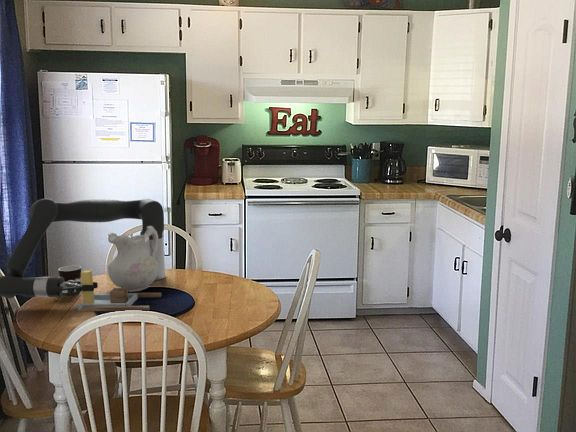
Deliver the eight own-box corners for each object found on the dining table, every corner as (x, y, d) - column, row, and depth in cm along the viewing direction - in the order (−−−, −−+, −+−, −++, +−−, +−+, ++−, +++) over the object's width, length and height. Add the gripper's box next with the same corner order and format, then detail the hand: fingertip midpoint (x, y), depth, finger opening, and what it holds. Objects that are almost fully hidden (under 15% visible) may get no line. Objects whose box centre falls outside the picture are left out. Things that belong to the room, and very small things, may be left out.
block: (115, 301, 247) (114, 287, 246) (128, 300, 247) (127, 287, 246) (110, 305, 242) (109, 291, 241) (124, 305, 242) (123, 291, 241)
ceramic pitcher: (139, 283, 279) (131, 224, 276) (175, 284, 269) (167, 223, 266) (101, 297, 261) (92, 234, 257) (138, 299, 251) (129, 234, 247)
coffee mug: (76, 296, 259) (74, 271, 257) (56, 295, 260) (53, 270, 259) (91, 288, 270) (89, 263, 268) (71, 287, 272) (69, 263, 270)
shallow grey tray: (91, 301, 252) (88, 267, 250) (138, 300, 251) (136, 266, 248) (78, 312, 239) (75, 276, 237) (127, 311, 238) (125, 275, 236)
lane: (99, 299, 254) (99, 292, 254) (161, 298, 252) (161, 292, 252) (81, 314, 237) (81, 307, 236) (148, 313, 235) (148, 307, 234)
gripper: (40, 282, 238) (87, 281, 236) (56, 272, 251) (101, 271, 250) (42, 302, 239) (89, 302, 238) (58, 291, 253) (102, 290, 252)
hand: (95, 286), depth 244 cm, fingers closed on shallow grey tray, 3 cm apart
